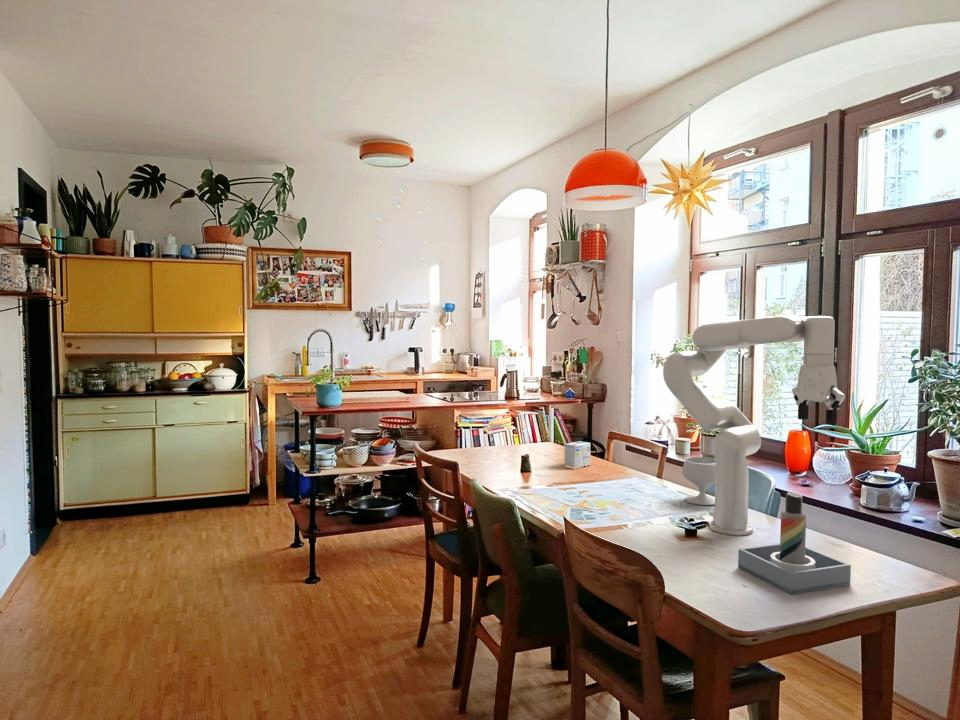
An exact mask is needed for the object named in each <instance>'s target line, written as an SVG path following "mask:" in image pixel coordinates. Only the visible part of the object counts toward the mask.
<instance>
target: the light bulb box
mask: <svg viewBox="0 0 960 720" xmlns="http://www.w3.org/2000/svg"><path fill="white" fill-rule="evenodd" d="M563 448H564V449H563V450H564V453H563V454H564V465H566V466H570V467H574V468H575V467H581V466H587V465H590V466H591V442H587V441H581V440H579V441H573V442H567V443H564V447H563Z"/></svg>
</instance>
